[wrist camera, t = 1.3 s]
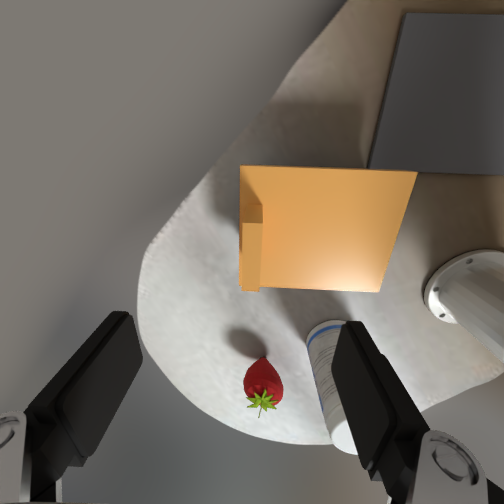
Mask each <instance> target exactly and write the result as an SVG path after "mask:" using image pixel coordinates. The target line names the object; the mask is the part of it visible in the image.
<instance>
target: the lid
mask: <svg viewBox="0 0 504 504" xmlns="http://www.w3.org/2000/svg"><path fill="white" fill-rule="evenodd" d="M417 174H418V172H414V171H408V170H388V169H361V168H333V167H305V166H278V165H250V164H241V165H240V223H239V286H242V291H257V292H259V288H260V287H278V288H299V289H320V290H340V291H361V292H379V290H380V287H381V284H382V281H383V278H384V275H385V271H386V268H387V265H388V262H389V259H390V256H391V253H392V250H393V247H394V244H395V241H396V238H397V235H398V232H399V229H400V226H401V222H402V219H403V216H404V213H405V210H406V207H407V204H408V201H409V198H410V195H411V192H412V189H413V186H414V183H415V180H416V177H417Z"/></svg>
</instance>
